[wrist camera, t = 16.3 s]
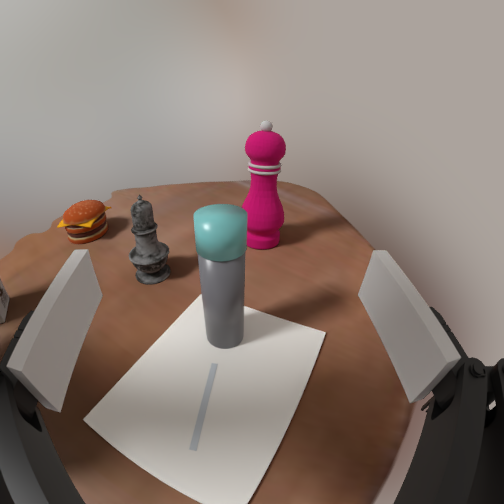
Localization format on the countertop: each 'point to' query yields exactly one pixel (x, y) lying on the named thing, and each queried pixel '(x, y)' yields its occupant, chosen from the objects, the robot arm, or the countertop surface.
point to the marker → (222, 271)
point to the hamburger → (85, 221)
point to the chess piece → (147, 246)
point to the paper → (210, 404)
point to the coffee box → (3, 302)
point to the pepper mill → (264, 188)
